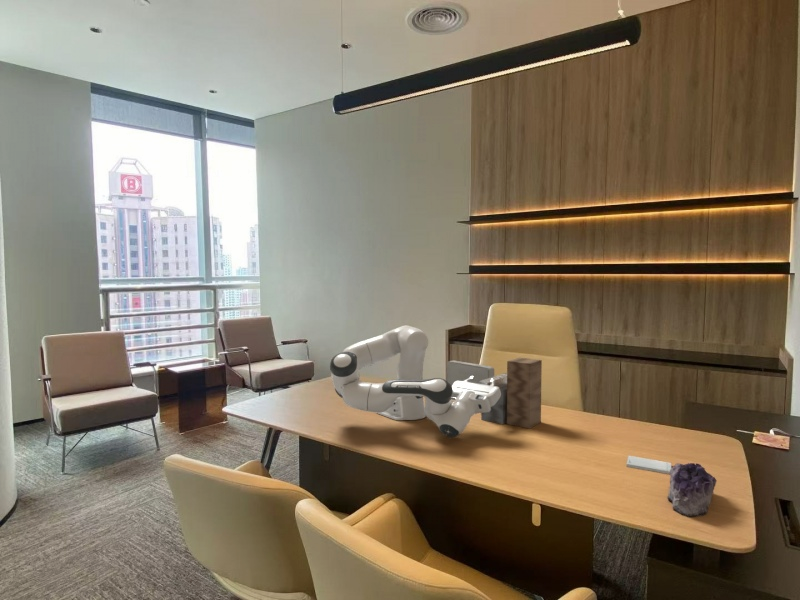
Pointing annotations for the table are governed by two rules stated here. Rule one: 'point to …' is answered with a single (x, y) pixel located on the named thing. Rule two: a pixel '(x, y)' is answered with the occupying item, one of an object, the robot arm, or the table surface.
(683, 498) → the geode
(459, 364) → the network device
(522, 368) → the two-tier stand
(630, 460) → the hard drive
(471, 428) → the table surface
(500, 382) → the grey rectangular bar
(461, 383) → the robot arm
